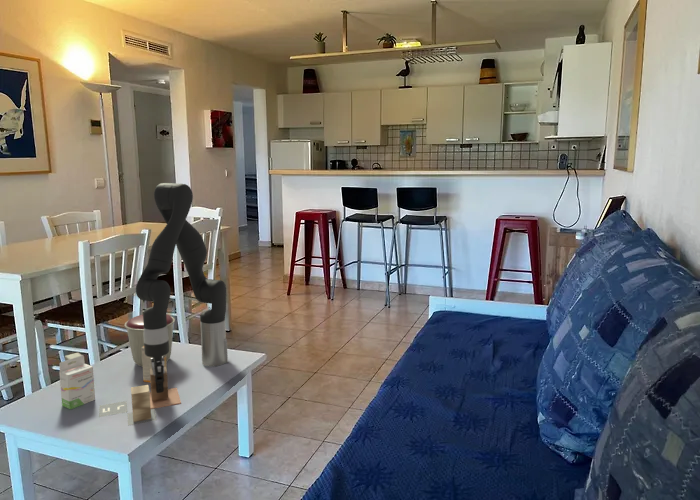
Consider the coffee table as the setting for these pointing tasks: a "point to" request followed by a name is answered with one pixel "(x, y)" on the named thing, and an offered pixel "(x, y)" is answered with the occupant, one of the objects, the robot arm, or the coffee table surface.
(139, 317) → the canister
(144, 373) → the supplement box
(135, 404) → the oak block
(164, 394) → the walnut block
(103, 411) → the code tile
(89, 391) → the ink box
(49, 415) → the coffee table surface
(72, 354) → the skincare box
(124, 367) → the coffee table surface
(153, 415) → the code tile
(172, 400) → the coaster
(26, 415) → the coffee table surface
